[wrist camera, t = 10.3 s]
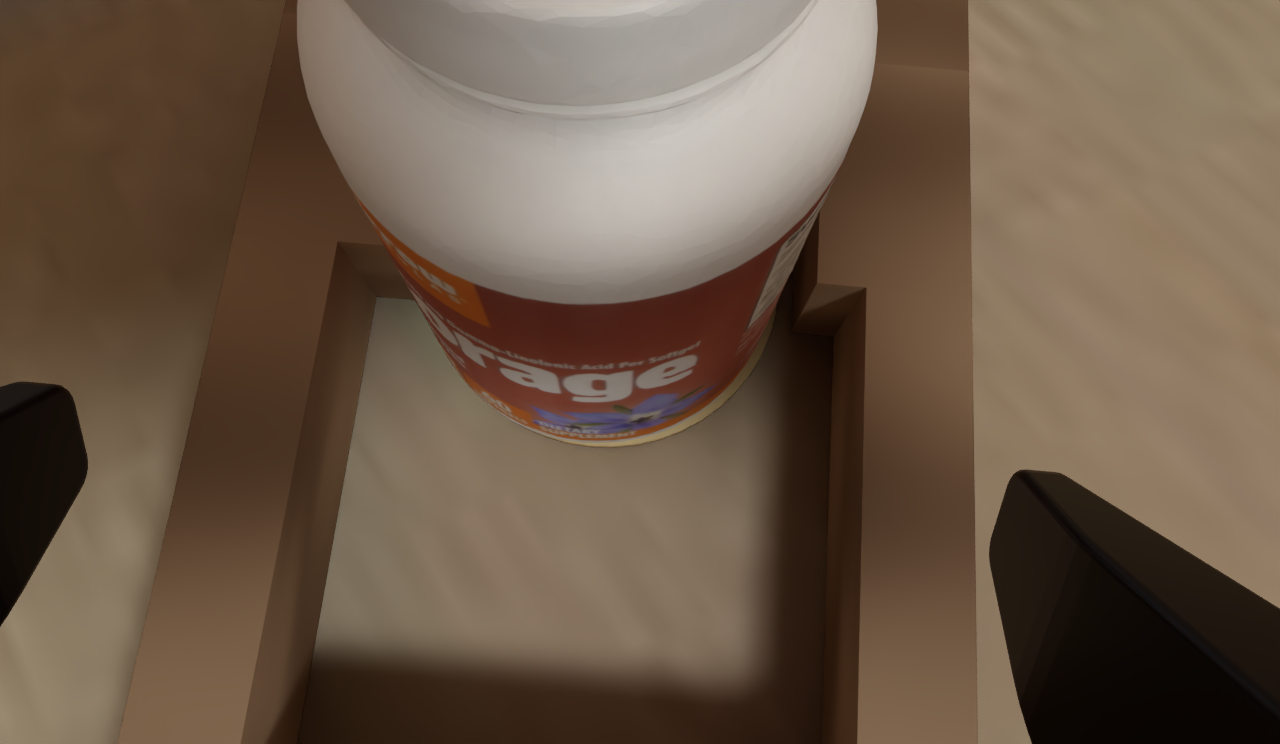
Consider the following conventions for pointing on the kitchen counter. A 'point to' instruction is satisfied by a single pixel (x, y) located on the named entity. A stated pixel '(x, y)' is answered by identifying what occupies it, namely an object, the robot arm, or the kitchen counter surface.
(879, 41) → the wooden rectangular frame
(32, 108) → the kitchen counter surface
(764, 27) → the pill bottle
